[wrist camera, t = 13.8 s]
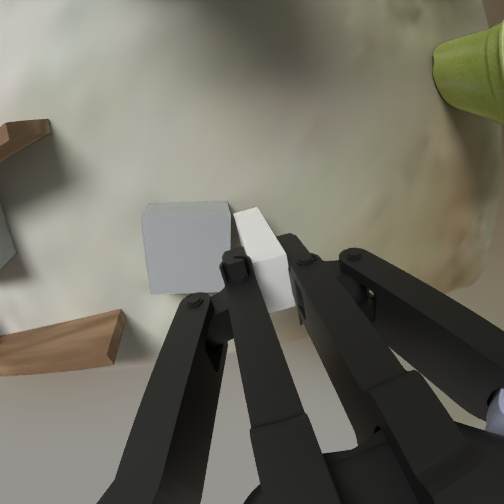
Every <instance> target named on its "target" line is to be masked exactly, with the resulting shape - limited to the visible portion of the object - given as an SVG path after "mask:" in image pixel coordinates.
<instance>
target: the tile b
mask: <svg viewBox="0 0 504 504" xmlns="http://www.w3.org/2000/svg"><path fill="white" fill-rule="evenodd" d="M141 224H142V233H143V242H144V251H145V258H146V266H147V273H148V280H149V286H150V292H151V294H182V293H197V292H204V293H209V292H220V291H221V290H222V289H223V288H224V287H225V284H224V281H223V278H222V274H221V271H220V268H219V266H220V263H221V262H222V256H223V254H224V252H225V251H228V250H230V239H231V213H230V210H229V207H228V203H227V201H203V202H174V203H153V204H149V205H148V206H147V208H146V210H145V211H144V213H143V215H142V216H141Z"/></svg>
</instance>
